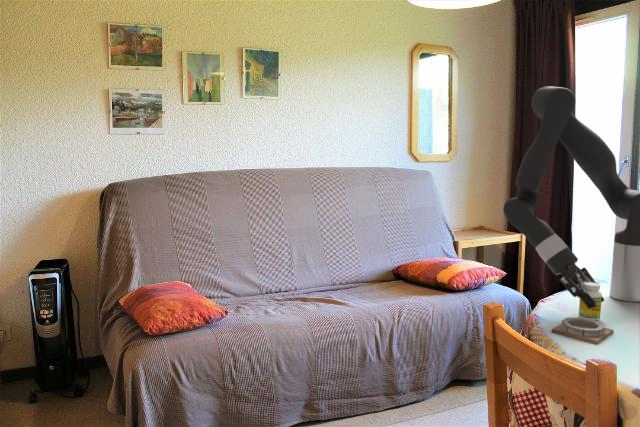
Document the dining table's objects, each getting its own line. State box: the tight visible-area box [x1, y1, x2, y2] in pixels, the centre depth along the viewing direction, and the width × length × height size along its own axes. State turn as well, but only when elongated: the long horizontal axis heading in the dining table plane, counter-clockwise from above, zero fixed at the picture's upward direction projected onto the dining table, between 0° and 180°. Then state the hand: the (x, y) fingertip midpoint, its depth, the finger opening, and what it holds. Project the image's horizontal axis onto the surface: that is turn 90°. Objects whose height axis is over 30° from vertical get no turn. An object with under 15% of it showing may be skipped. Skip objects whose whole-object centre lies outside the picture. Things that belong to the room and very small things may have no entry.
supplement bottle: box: [578, 281, 603, 321], centre depth 149 cm, size 5×5×10 cm
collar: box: [551, 316, 614, 345], centre depth 138 cm, size 11×11×2 cm
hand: (597, 304), depth 147 cm, fingers closed on supplement bottle, 5 cm apart
